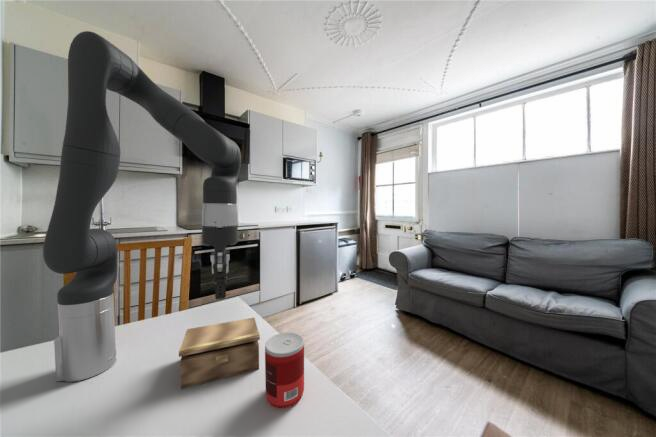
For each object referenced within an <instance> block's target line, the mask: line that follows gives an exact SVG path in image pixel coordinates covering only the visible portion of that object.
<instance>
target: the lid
mask: <svg viewBox="0 0 656 437" xmlns="http://www.w3.org/2000/svg"><path fill="white" fill-rule="evenodd" d="M256 340H258V341H260V340H261V335H260V332H259V329H258V326H257V322H256V318H255V317H249V318H244V319H237V320H231V321H227V322H226V321H225V322H222V323H216V324H208V325H203V326H198V327H191V328H187V329H186V332H185V334H184V337H183V340H182V343H181V345H180V348H179V350H178V358H179V357H182V356H186V355H190V354H195V353H200V352H204V351H209V350H214V349H219V348H223V347H228V346H233V345H238V344H242V343H247V342H252V341H256Z"/></svg>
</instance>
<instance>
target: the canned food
mask: <svg viewBox="0 0 656 437" xmlns="http://www.w3.org/2000/svg"><path fill="white" fill-rule="evenodd" d="M264 363H265V364H264V368H265V370H264V371H265V372H264V374H265V377H264V378H265V397H266V400H267V403H268V404H269V405H270V406H271V407H273V408H276V409H287V408H290V407H293V406H294V405H297V403H298V402H299V401H300V400H301V399H302V397H303V395H304V391H305V341H304V338H303V336H302V335H301V334H299V333H295V332H280V333H278V334H275V335H273V336H271V337H269V338H268V339H267V340H266V342H265V346H264Z"/></svg>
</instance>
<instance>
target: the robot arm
mask: <svg viewBox="0 0 656 437" xmlns="http://www.w3.org/2000/svg"><path fill="white" fill-rule="evenodd" d="M67 54H68V55H67V89H68V90H67V110H66V111H67V112H66V120H65V129H64V130H65V131H64V137H63V143H62V147H61V155H60V166H59V167H60V168H59V176H58V182H57V183H58V184H57V187H56V192H55V193H56V194H55V199H54V200H55V201H54V205H53V210H52V212H51V216H50V221H49V222H48V227H47V230H46V233H45V237H44V241H43V245H42V246H43V247H42V255H43V256H42V257H43V261H44V263H45V265H46V266H47V268H49V270H51V271H52V272H54V273H57V274H62V275H63V274H64V275H67V274H73V273H75V274H74V276H73V277H72V279H71V280H70V281H69V282H67V283H66V284H65V285H64V286H62V287H61V288H60V289H59V290H58V291H57V294H56V295H57V296H56V301H57V315H58V330H59V331H58V332H59V335H58V336H57V337H55V339H54V340H53V344H54V363H55V380H56V381H55V382H61V381H63V382H68V383H69V382H70V383H71V382H78V381H83V380H84V381H85V380H87V379H90V378H92V377H96V376H97V375H99V374H101V373H104V372H105V371H107V370H108V369H110V368H111V367H113V365H115V363H116V362H117V346H116V345H117V343H116V323H115V322H116V320H115V303H114V302H115V301H114V300H115V298H114V287H115V284H116V282H117V279H118V255H119V254H118V245H117V244H118V243H117V241H116V239H115V238H114V235H113V234H112V233H111V232H110V231H108V230H106V229H102V228H91V223H92V218H93V214H94V212H95V209H96V207H97V206H98V204H99V203H100V202H101V200H103V198H104V197H105V195H106V194H107V193H108V191H109V190H110V189H111V188H112V186H113V185H114V184H115V181H116V180H117V177H118V173H119V167H120V159H121V146H120V145H121V144H120V143H119V139H118V136H117V133H116V131H115V129H114V127H113V125H112V123H111V122H112V121H111V120H110V116H109V114H108V110H107V103H106V102H107V90H108V91H110V92H113V93H116V94H118V95H120V96H123V97H124V98H126V99H128V100H130V101H132V102H134V103H136V104H137V105H139V106H140V107H142V108H143V109H145V111H147V112H148V114H149V115H150V116H151V117H152V119H153V120H155V122H156V123H157V124H158V125H160V127H162V128H163V129H165V130H166V131H167V132H168V133H169V134H171V135H173V136H174V137H175V138H176V139H178V140H179V141H181V142H182V143H183V144H184V145H185V146H186V147H187V148H188V149H189V150H190V151H191V153H193V154H194V155H195V156H196V157H197V158H199V159H200V160H201V161H203V162H204V163H207V164H208V165H212V167H211V169H212V170H211V174H210V176H209V177H206V178H205V179H204V180H203V184H202V210H201V244H202V245H203V246H207V247H213V248H214V251H211V252H210V262H211V274H212V275H213V283H214V287H215V288H214V292H215V293H214V294H215V295H214V297H215V299H216V300H222V299H225V298H226V296H227V295H226V294H227V293H226V292H227V290H226V289H227V287H226V286H227V285H226V283H227V282H228V277H227V274H228V273H229V270H230V269H229V265H230V264H229V261H230V260H231V258H230V256H231V255H230V254H231V253H230V250H226V249H227V246H233V245H236V244H237V243H239V242H238V241H239V239H238V238H239V218H238V217H239V216H238V215H239V214H238V205H237V203H238V202H237V200H238V199H237V197H238V196H237V195H238V194H237V192H238V191H237V186H238V180H239V176H240V173H241V172H240V171H241V167H242V153H241V149H240V147H239V146H238V143H236V142H235V141H234V140H232V139H230V138H229V137H228V136H226V135H225V134H223V133H221V132H220V131H218V130H217V129H216V128H214V127H212V126H211V125H209V124H208V123H207V122H206V121H205V120H204V119H203V118H202V117H201V116H200V115H199V114H197V113H196V112H195V111H193V109H191V108H189V107H188V106H187V105H185V104H184V103H183V102H181V101H180V100H178V99H177V98H176V97H174V96H173V95H171V94H169V93H167V92H166V91H165V90H163V89H162V88H161V87H159V85H157V84H156V83H155V82H154V81H153V80H152V79H151V78H150V77H149V76H148V75H147V74H146V73H145V72H144V71H143V69H142V68H140V67H139V65H138V64H137V63H136V62H135V61H134V60H133V59H132V58H131V57H130V56H129V55H127V53H125V52H124V51H122V50H121V49H119V47H117V46H115V44H113V43H112V42H110V41H109V40H108V39H106V38H105V37H104V36H101V35H99V34H98V33H96V32H94V31H88V30H87V31H86V30H85V31H81V32H79V33H78V34H76V36H75V35H74V37H73V39H72V41H71V43H70V44H69V49H68V53H67Z"/></svg>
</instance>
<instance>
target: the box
mask: <svg viewBox="0 0 656 437" xmlns="http://www.w3.org/2000/svg"><path fill="white" fill-rule="evenodd" d="M259 346H260V343H259V340H256V341H252V342H247V343H242V344H238V345H233V346H228V347H223V348H219V349H214V350H209V351H204V352H200V353H195V354H190V355H186V356H181V358H180V361H179V364H180V365H179V366H180V367H179V370H180V390H182V389H185V388H190V387H194V386H198V385H202V384H206V383H210V382H213V381H214V382H215V381H218V380H222V379H226V378H229V377H233V376H237V375H240V374H245V373H248V372H252V371H257V370H259V369H260V347H259Z"/></svg>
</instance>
